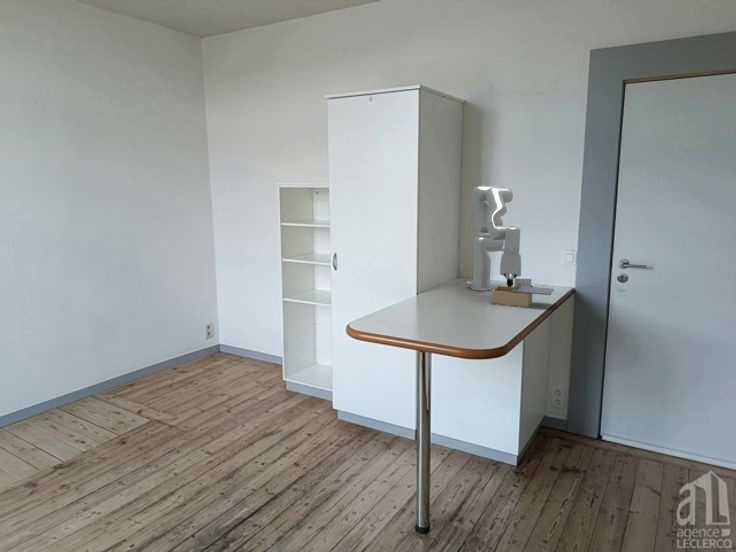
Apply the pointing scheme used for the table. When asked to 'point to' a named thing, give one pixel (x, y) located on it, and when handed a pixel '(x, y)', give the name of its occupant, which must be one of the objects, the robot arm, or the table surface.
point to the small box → (523, 281)
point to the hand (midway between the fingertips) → (509, 286)
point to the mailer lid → (531, 290)
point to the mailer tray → (510, 297)
